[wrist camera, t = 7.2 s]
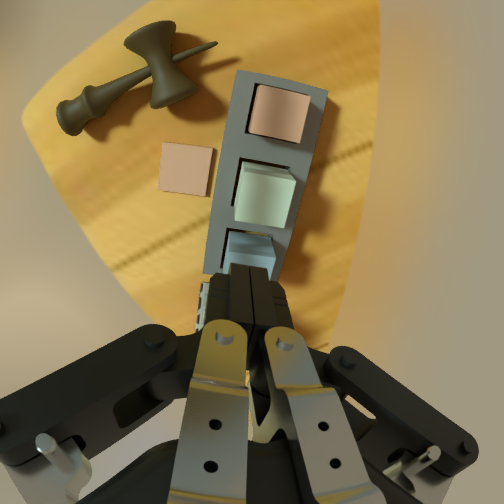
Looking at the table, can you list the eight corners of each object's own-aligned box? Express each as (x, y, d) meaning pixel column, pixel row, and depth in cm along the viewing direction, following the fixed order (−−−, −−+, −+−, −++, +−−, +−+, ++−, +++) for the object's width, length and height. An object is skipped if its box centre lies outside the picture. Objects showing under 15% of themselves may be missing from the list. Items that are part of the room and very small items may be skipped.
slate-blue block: (270, 237, 35) (275, 257, 30) (261, 271, 37) (265, 295, 33) (229, 230, 34) (229, 251, 29) (223, 266, 36) (222, 289, 32)
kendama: (66, 88, 26) (206, 14, 23) (90, 148, 31) (233, 82, 28) (40, 91, 21) (199, -1, 18) (67, 159, 26) (231, 78, 23)
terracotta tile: (213, 147, 32) (212, 148, 31) (205, 194, 35) (205, 196, 34) (163, 141, 31) (162, 142, 30) (158, 188, 34) (157, 190, 33)
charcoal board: (320, 91, 29) (328, 90, 26) (274, 270, 41) (277, 283, 38) (236, 72, 27) (237, 69, 25) (204, 261, 39) (202, 273, 37)
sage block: (286, 169, 31) (296, 181, 26) (276, 210, 33) (283, 228, 29) (242, 161, 30) (244, 171, 26) (234, 203, 32) (234, 220, 28)
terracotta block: (299, 97, 29) (310, 96, 24) (290, 137, 31) (299, 143, 27) (256, 88, 28) (260, 84, 23) (247, 129, 30) (250, 132, 26)
